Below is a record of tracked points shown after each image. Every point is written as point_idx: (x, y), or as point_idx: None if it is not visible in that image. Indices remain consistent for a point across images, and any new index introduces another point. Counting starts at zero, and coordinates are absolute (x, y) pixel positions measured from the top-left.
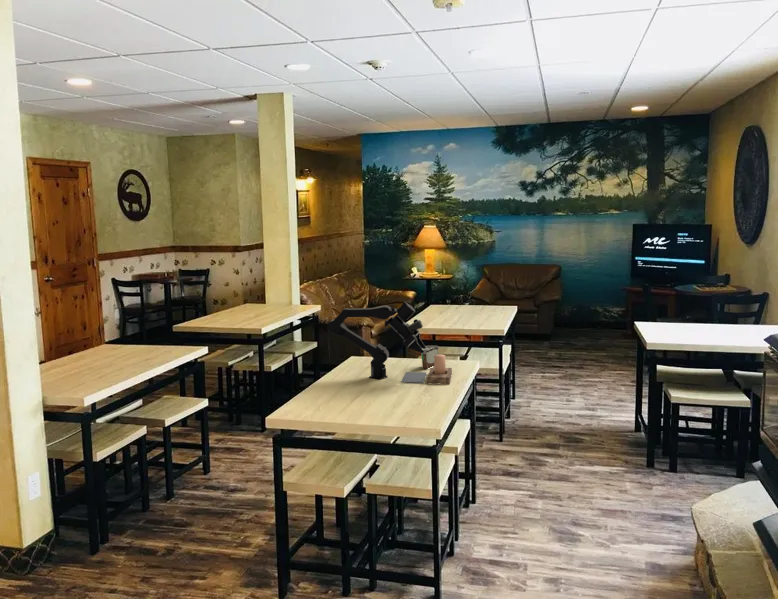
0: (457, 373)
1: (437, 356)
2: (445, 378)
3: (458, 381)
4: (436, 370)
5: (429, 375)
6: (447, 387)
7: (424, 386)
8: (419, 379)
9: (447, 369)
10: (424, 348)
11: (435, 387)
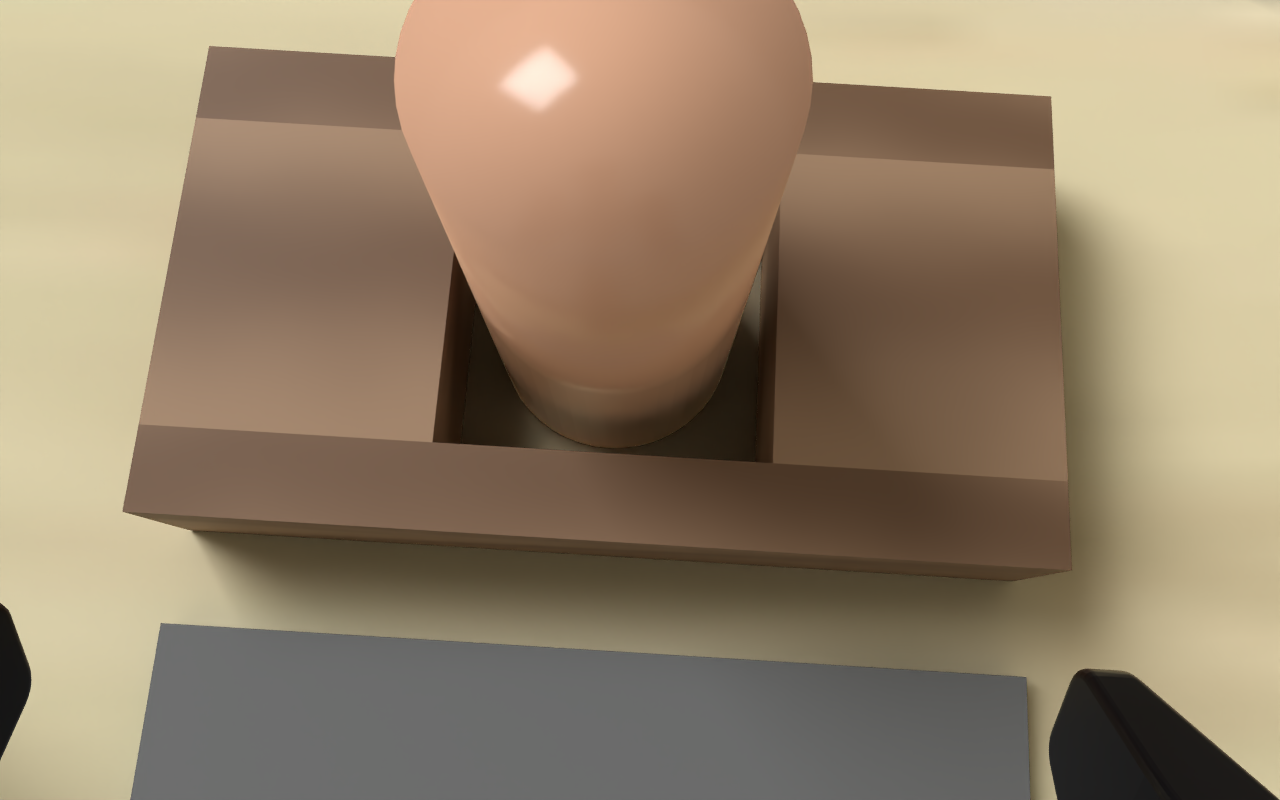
0: (216, 21)
1: (768, 146)
2: (1043, 188)
3: (802, 18)
4: (723, 345)
5: (914, 525)
6: (1235, 203)
7: (1236, 638)
8: (803, 769)
9: (347, 133)
10: (15, 672)
11: (1273, 417)
